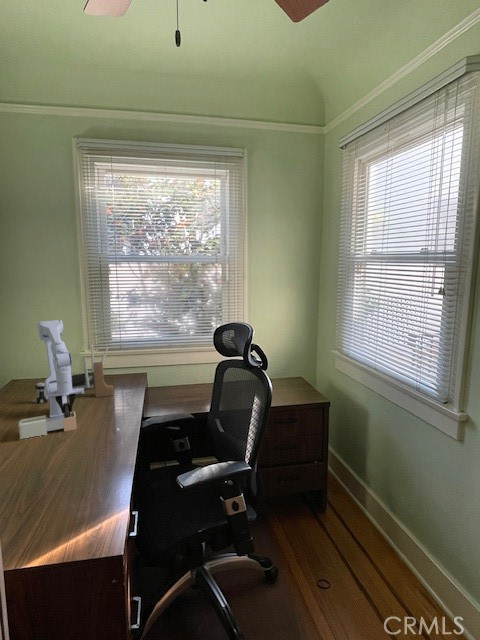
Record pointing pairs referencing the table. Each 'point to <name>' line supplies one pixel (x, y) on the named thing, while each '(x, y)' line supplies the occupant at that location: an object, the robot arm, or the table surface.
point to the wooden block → (101, 381)
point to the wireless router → (86, 374)
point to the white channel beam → (32, 427)
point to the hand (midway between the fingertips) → (66, 411)
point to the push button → (41, 393)
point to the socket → (70, 422)
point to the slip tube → (58, 419)
